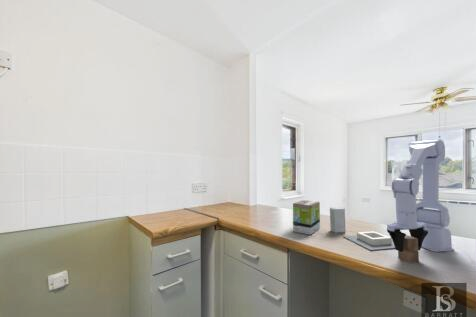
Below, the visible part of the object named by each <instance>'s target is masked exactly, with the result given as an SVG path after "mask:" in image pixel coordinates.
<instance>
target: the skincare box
mask: <svg viewBox="0 0 476 317" xmlns="http://www.w3.org/2000/svg"><path fill="white" fill-rule="evenodd" d="M329 220H330V221H329V222H330V224H329V225H330V231H331V232H333V233H335V234H336V233H337V234H338V233H346V231H347V230H346V209H345V208H344V207H337V206H336V207H329Z"/></svg>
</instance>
